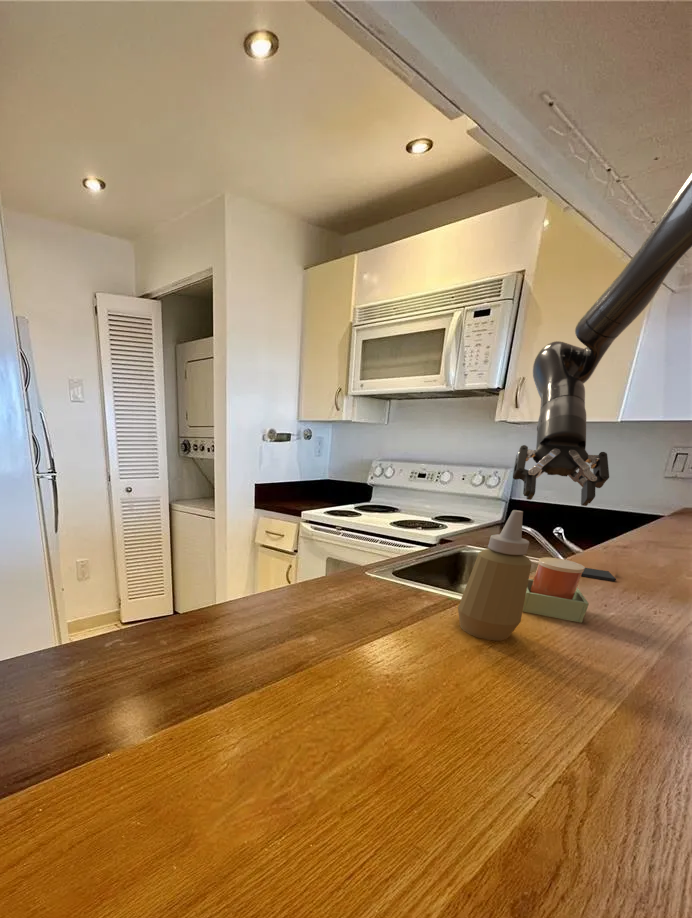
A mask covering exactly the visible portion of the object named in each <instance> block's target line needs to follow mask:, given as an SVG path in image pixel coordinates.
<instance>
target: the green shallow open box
mask: <svg viewBox="0 0 692 918" xmlns="http://www.w3.org/2000/svg"><path fill="white" fill-rule="evenodd" d="M532 583H533V579H531V578H529V580H528V585H527V590H526V596H525V601H524V606H523V612H522V613H529V614H534V615H540V616H545V617H550V618H556V619H561V620H565V621H570V622H574V623H575V622H577V623H583V622H584V617H585V615H586V613H587V610H588V608H589V604H590V603H589V602H588V600H587V599H586V598H585V596H584V595H583V593H582V592H581V590H580V589H579V587H578V586H577V589H576V592H575V595H574V598H573V600H570V599H565V598H559V597H554V596H548V595H542V594H537V593H531V592H530V589H531V586H532Z"/></svg>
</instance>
